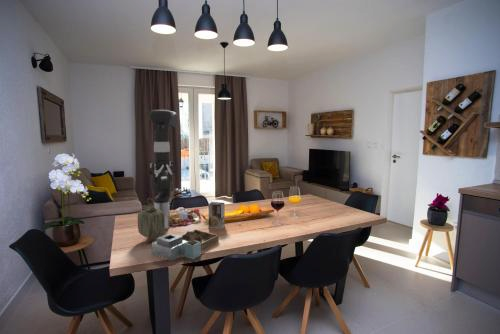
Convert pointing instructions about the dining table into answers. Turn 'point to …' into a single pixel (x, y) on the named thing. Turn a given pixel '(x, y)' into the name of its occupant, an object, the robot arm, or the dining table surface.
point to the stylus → (192, 238)
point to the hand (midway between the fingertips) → (162, 183)
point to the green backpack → (151, 222)
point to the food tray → (184, 217)
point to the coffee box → (216, 215)
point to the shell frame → (210, 238)
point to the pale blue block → (169, 246)
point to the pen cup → (193, 250)
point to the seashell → (197, 237)
